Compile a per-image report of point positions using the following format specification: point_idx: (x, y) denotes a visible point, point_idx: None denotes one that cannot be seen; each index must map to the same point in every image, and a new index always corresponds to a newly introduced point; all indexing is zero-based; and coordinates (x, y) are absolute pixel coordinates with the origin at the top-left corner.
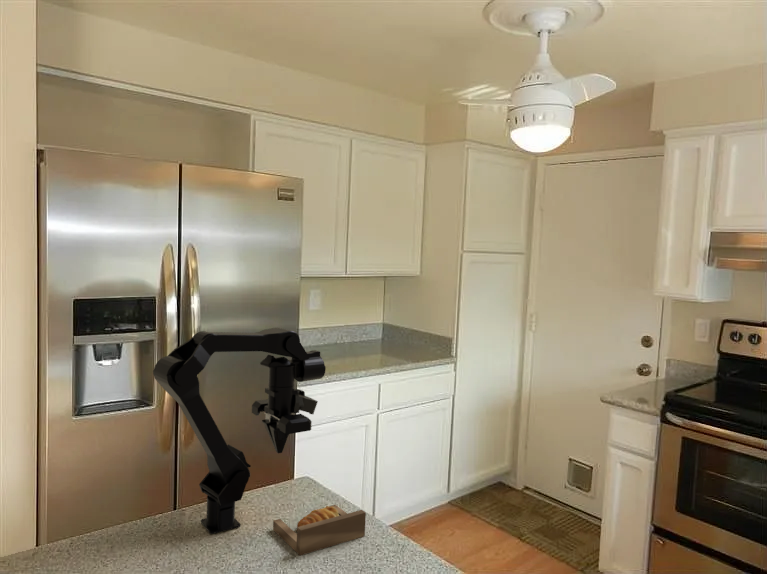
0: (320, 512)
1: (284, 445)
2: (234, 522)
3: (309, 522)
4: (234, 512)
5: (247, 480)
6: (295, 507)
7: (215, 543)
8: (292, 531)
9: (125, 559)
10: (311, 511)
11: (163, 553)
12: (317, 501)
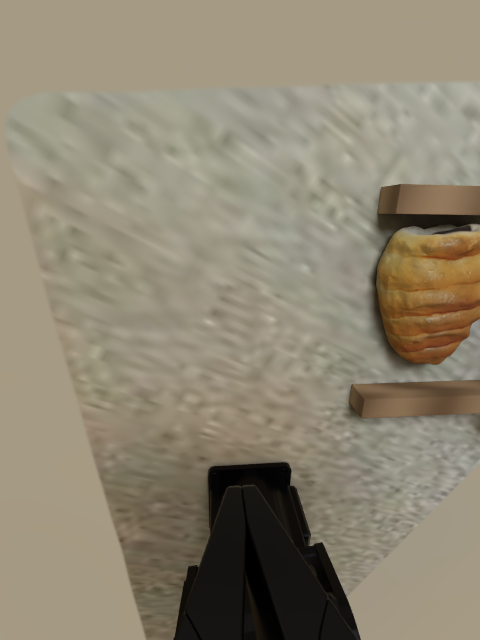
0: (460, 299)
1: (287, 535)
2: (269, 475)
3: (453, 343)
4: (274, 499)
5: (318, 580)
6: (260, 287)
7: (324, 518)
8: (450, 399)
9: None
10: (409, 308)
11: None
12: (259, 189)
